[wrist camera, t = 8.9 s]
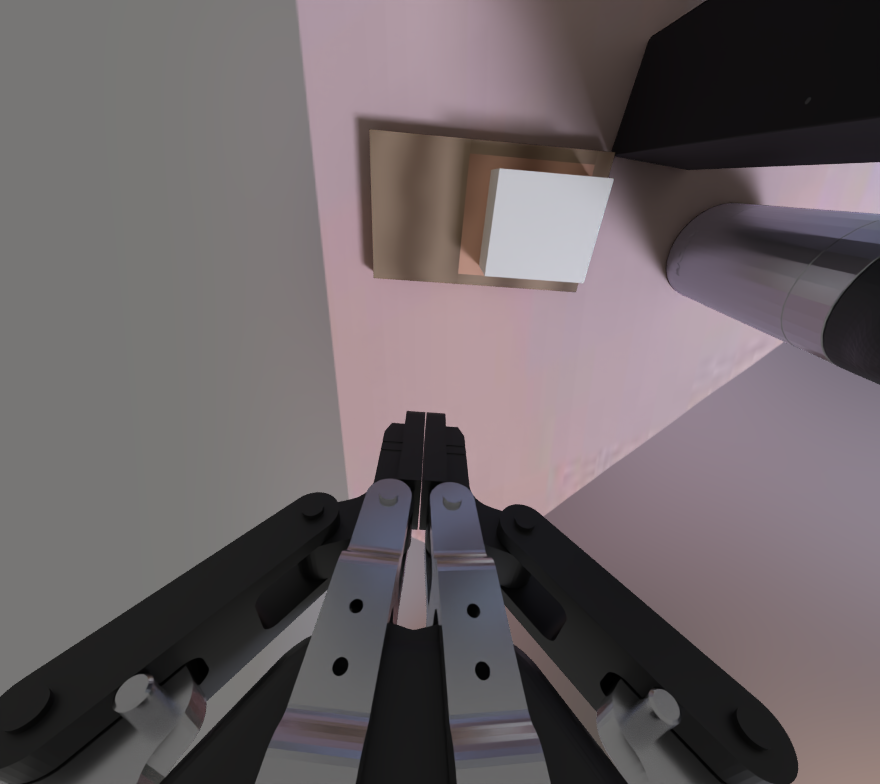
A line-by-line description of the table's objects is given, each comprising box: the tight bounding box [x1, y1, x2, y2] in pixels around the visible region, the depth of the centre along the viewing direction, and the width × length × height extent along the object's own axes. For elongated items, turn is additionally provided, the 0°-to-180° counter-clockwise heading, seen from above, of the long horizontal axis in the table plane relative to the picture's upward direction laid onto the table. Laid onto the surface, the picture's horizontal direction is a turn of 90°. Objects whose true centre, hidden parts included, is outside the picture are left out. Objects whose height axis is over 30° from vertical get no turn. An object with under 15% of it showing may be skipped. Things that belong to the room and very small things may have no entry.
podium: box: [369, 129, 615, 292], centre depth 33 cm, size 21×12×2 cm, turn 86°
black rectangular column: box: [612, 0, 880, 170], centre depth 17 cm, size 8×8×28 cm
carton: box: [479, 168, 614, 283], centre depth 30 cm, size 9×8×4 cm
